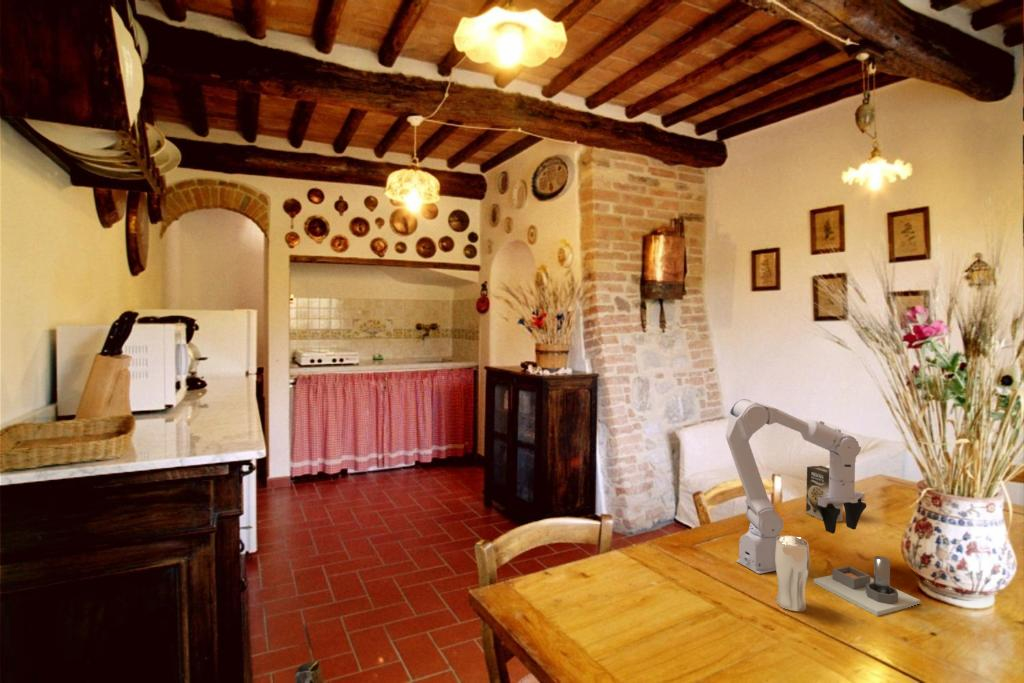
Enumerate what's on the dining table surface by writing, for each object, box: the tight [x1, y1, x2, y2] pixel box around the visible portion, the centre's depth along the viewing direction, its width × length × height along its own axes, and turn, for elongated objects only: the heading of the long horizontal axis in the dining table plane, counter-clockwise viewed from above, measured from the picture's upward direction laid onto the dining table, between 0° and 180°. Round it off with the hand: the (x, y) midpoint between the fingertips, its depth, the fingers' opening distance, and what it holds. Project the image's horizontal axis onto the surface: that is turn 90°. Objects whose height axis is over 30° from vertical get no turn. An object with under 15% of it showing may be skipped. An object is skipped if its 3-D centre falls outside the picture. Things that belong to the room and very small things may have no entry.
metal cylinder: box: [873, 555, 891, 594], centre depth 124 cm, size 3×3×9 cm
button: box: [846, 573, 858, 578], centre depth 131 cm, size 4×4×1 cm
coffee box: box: [805, 465, 844, 523], centre depth 177 cm, size 9×6×16 cm
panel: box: [813, 565, 921, 617], centre depth 128 cm, size 14×16×4 cm
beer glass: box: [775, 534, 810, 612], centre depth 122 cm, size 7×7×15 cm
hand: (840, 530), depth 141 cm, fingers open, 7 cm apart
